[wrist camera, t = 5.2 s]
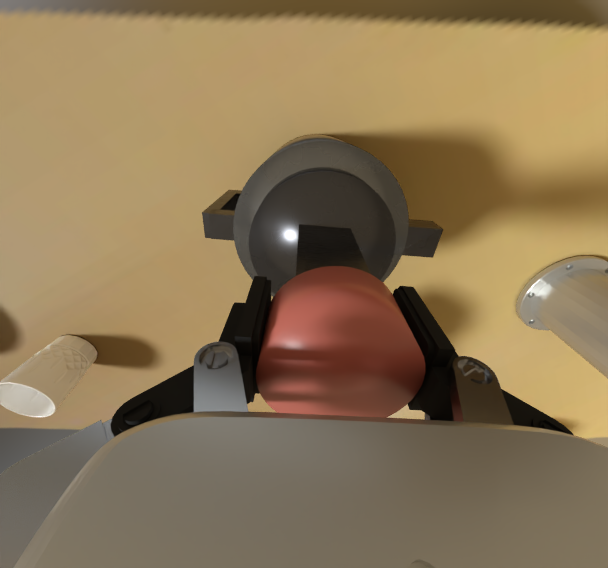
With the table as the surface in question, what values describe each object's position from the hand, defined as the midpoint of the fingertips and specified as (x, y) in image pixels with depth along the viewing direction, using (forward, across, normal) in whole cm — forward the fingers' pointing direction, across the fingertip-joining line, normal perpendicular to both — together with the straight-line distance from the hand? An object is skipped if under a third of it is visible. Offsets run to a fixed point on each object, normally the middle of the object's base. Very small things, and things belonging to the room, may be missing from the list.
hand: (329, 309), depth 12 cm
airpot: (+23, 0, 0) cm, 23 cm away
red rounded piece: (+7, 0, 0) cm, 7 cm away
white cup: (+23, +38, +29) cm, 53 cm away
